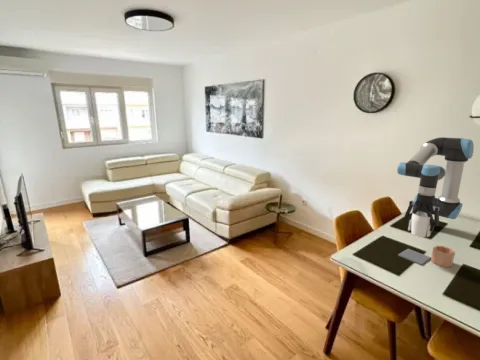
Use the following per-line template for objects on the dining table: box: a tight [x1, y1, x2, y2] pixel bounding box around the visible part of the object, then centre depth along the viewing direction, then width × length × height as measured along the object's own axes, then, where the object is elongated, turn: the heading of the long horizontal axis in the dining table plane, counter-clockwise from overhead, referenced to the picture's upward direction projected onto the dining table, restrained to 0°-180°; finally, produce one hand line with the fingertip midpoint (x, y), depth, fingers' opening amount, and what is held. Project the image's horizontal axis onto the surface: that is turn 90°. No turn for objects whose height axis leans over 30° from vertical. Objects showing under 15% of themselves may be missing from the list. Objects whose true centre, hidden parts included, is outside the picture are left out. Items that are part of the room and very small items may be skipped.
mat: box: [397, 248, 431, 266], centre depth 148 cm, size 12×12×1 cm
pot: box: [430, 244, 456, 268], centre depth 142 cm, size 9×9×8 cm
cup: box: [410, 211, 430, 238], centre depth 143 cm, size 9×9×12 cm
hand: (418, 232), depth 144 cm, fingers closed on cup, 9 cm apart
